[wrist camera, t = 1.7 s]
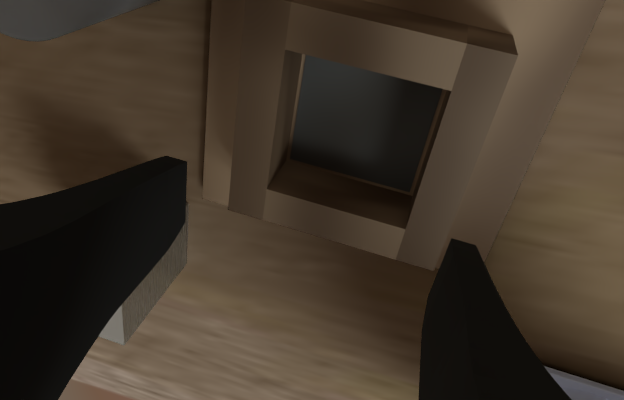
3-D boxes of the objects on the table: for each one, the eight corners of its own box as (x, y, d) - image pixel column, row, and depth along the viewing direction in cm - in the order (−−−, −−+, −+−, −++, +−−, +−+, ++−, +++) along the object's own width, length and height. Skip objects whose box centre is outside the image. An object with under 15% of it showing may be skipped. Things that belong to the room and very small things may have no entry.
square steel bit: (189, 202, 25) (119, 279, 20) (187, 263, 27) (124, 345, 23) (116, 181, 26) (31, 250, 21) (120, 241, 28) (44, 317, 23)
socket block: (603, -8, 16) (628, 11, 14) (476, 271, 23) (476, 320, 20) (222, -90, 18) (181, -86, 15) (207, 192, 24) (176, 227, 22)
